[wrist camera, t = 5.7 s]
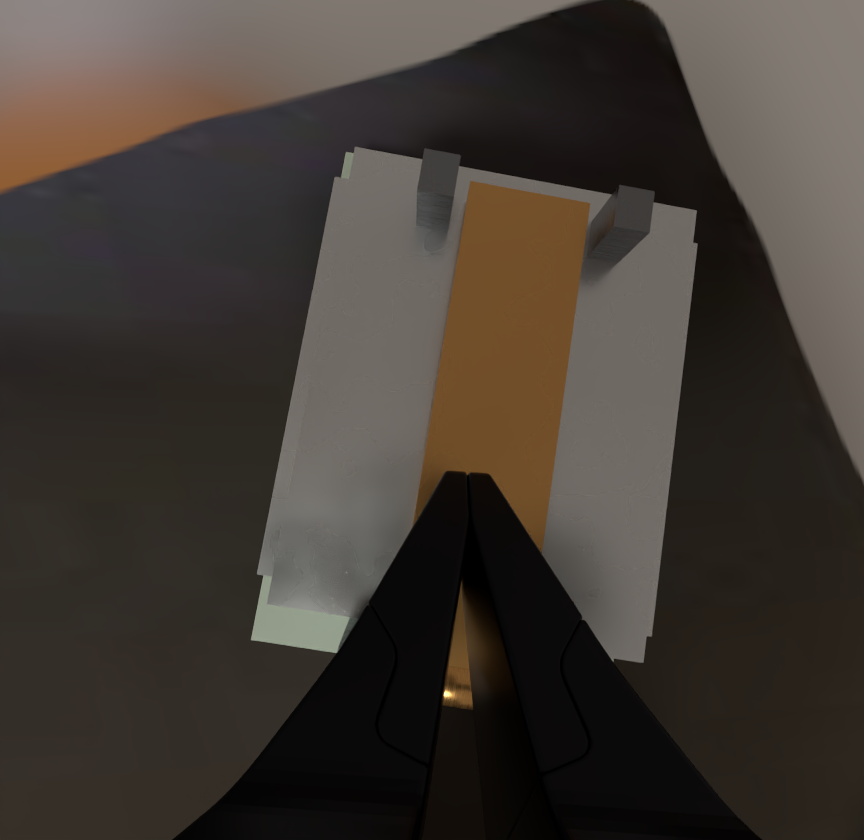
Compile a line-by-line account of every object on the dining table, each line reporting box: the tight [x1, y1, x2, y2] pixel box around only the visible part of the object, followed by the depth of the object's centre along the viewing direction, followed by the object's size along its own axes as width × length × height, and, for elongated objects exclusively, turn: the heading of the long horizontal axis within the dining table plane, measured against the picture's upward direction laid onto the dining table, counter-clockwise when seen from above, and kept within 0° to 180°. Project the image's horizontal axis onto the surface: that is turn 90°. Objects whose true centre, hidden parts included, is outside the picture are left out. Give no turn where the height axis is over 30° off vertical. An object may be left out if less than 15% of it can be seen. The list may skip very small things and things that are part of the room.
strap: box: [412, 181, 590, 710], centre depth 14 cm, size 15×4×1 cm, turn 170°
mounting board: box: [251, 152, 614, 661], centre depth 20 cm, size 20×14×2 cm
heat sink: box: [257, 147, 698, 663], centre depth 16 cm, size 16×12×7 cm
